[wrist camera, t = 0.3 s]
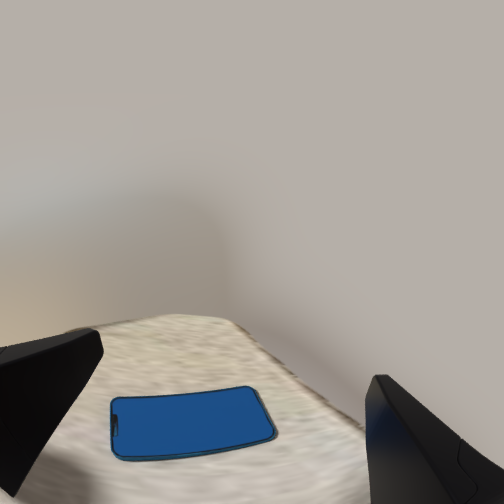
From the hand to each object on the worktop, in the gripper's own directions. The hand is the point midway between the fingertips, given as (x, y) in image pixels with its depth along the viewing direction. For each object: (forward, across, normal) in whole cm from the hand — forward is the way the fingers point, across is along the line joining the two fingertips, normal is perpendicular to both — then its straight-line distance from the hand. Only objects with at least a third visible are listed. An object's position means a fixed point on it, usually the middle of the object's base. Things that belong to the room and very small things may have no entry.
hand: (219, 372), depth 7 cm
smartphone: (+9, +6, +16) cm, 19 cm away
